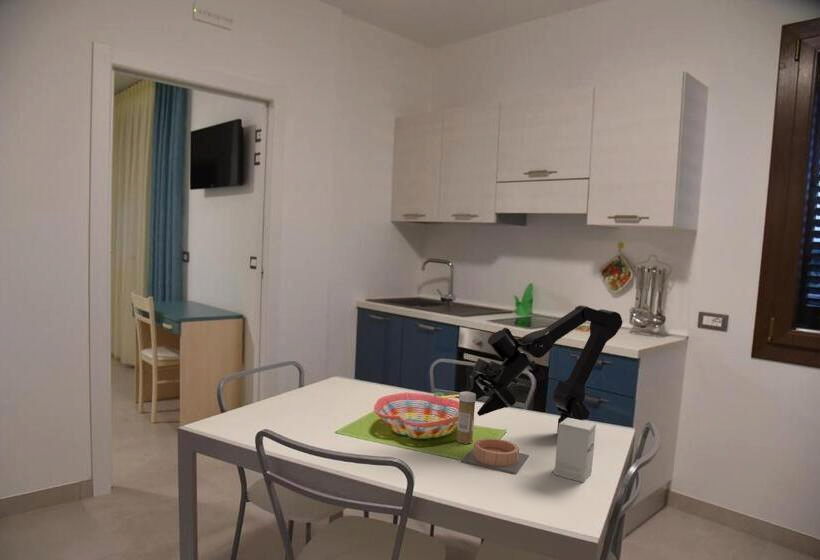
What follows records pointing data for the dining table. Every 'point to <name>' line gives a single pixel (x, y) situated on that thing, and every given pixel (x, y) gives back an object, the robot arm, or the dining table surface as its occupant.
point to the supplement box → (575, 449)
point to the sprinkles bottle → (466, 417)
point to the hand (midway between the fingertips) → (470, 409)
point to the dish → (496, 455)
